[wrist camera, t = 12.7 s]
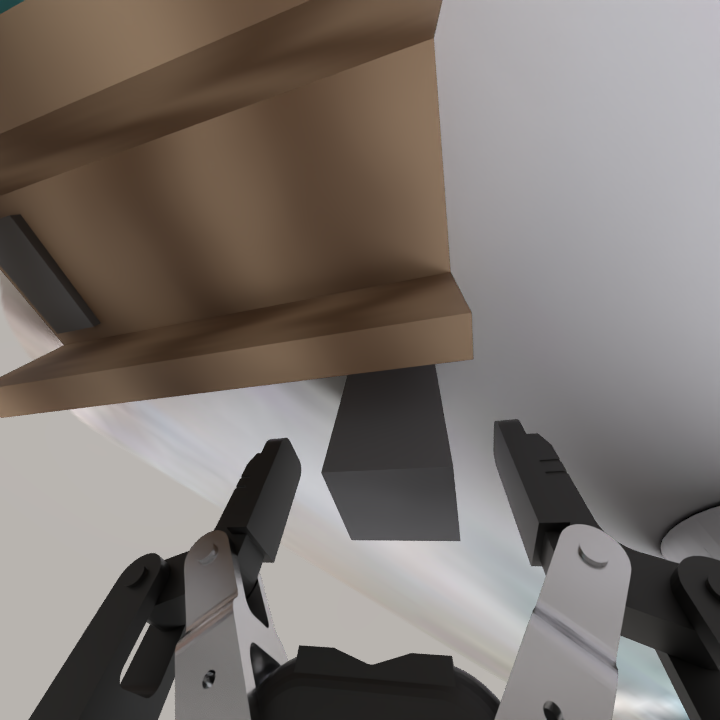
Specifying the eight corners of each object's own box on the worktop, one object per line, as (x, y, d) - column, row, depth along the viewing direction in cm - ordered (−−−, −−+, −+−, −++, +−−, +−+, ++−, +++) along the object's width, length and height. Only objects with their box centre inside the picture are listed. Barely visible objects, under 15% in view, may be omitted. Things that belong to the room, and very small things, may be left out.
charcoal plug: (431, 346, 14) (453, 466, 8) (439, 408, 16) (460, 540, 10) (352, 356, 15) (321, 472, 9) (368, 414, 17) (351, 539, 11)
